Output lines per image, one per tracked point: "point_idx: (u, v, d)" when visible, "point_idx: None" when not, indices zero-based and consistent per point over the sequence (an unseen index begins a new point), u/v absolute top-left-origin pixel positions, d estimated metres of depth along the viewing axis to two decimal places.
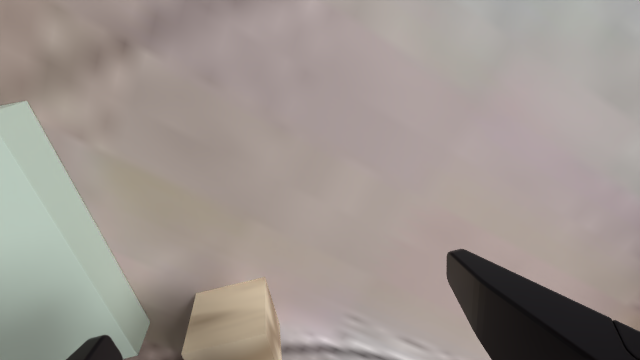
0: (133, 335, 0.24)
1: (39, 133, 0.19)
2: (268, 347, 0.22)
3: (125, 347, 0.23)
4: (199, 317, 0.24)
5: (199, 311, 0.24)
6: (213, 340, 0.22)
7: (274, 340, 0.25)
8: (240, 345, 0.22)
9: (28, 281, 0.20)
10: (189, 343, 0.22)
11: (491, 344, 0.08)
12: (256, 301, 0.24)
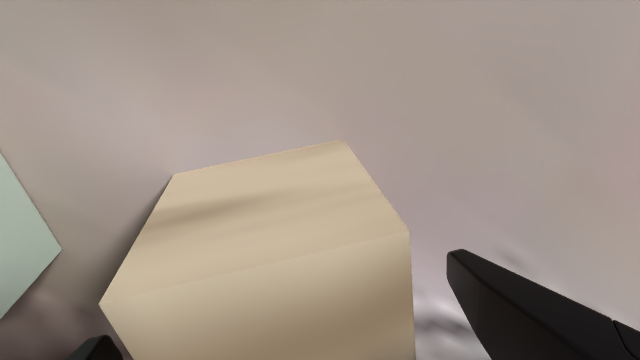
0: None
1: None
2: (405, 288, 0.07)
3: None
4: (177, 211, 0.08)
5: (178, 200, 0.09)
6: (218, 258, 0.06)
7: None
8: (317, 275, 0.06)
9: None
10: (137, 270, 0.06)
11: (491, 344, 0.08)
12: (337, 171, 0.09)
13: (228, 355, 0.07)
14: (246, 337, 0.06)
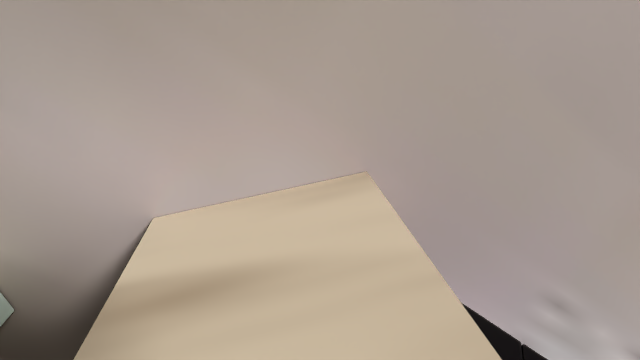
0: None
1: None
2: None
3: None
4: (148, 288, 0.06)
5: (152, 268, 0.06)
6: None
7: None
8: None
9: None
10: None
11: None
12: (368, 228, 0.06)
13: None
14: None
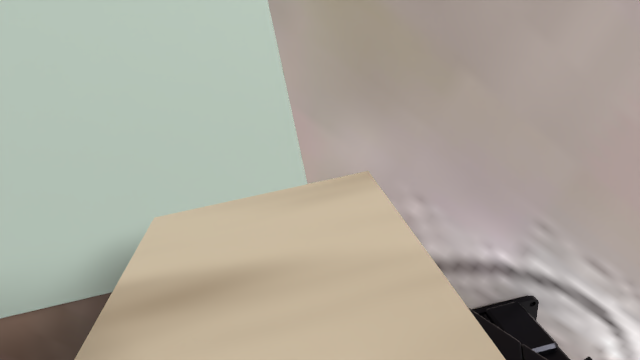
0: None
1: None
2: None
3: None
4: (149, 288, 0.06)
5: (153, 267, 0.06)
6: None
7: None
8: None
9: (216, 112, 0.15)
10: None
11: None
12: (369, 228, 0.06)
13: None
14: None
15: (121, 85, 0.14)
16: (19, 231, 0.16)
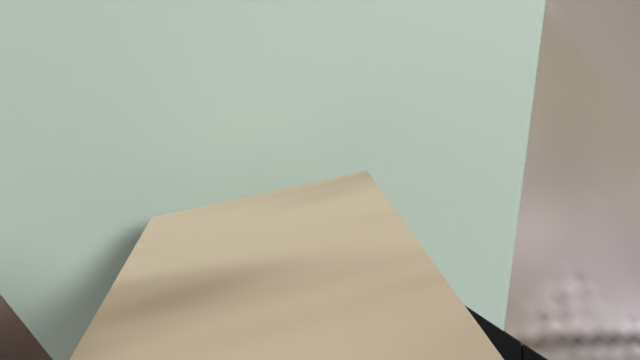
0: None
1: None
2: None
3: None
4: (146, 288, 0.06)
5: (150, 267, 0.06)
6: None
7: None
8: None
9: (436, 219, 0.12)
10: None
11: None
12: (368, 228, 0.06)
13: None
14: None
15: None
16: None
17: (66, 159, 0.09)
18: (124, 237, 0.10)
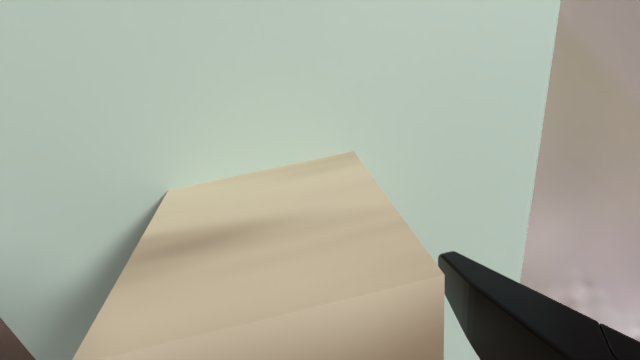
0: None
1: None
2: (435, 338, 0.06)
3: None
4: (169, 239, 0.07)
5: (171, 225, 0.08)
6: (215, 305, 0.05)
7: None
8: (333, 326, 0.05)
9: (444, 227, 0.12)
10: (117, 319, 0.05)
11: (481, 347, 0.08)
12: (351, 192, 0.08)
13: None
14: None
15: None
16: None
17: (58, 166, 0.09)
18: (120, 247, 0.10)
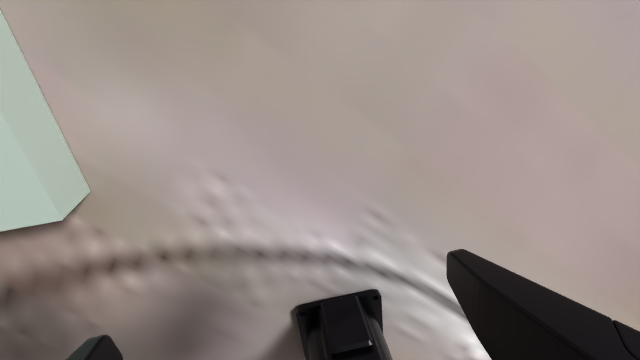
0: (56, 190, 0.16)
1: None
2: None
3: (41, 203, 0.15)
4: None
5: None
6: None
7: None
8: None
9: None
10: None
11: (491, 344, 0.08)
12: None
13: None
14: None
15: None
16: None
17: None
18: None
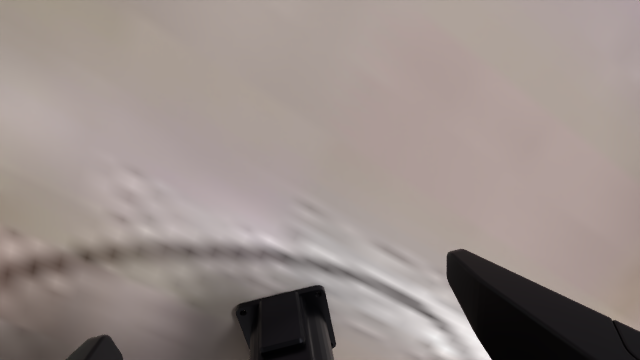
0: None
1: None
2: None
3: None
4: None
5: None
6: None
7: None
8: None
9: None
10: None
11: (491, 344, 0.08)
12: None
13: None
14: None
15: None
16: None
17: None
18: None
